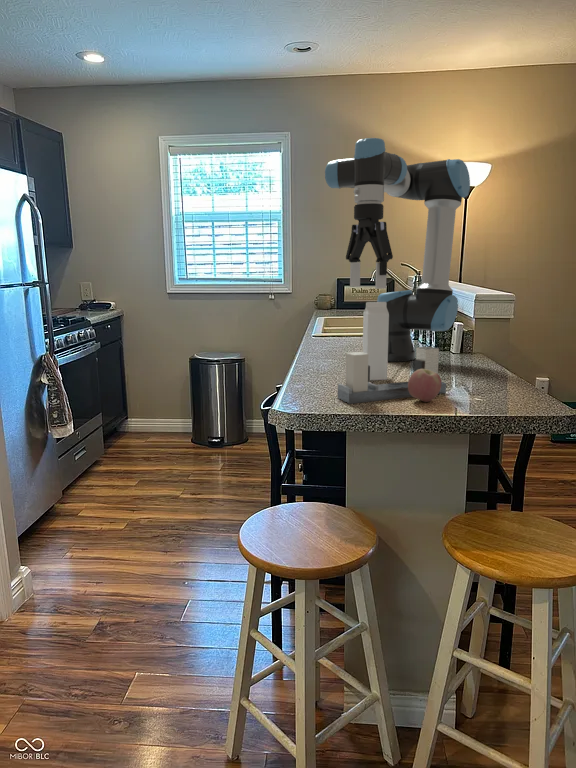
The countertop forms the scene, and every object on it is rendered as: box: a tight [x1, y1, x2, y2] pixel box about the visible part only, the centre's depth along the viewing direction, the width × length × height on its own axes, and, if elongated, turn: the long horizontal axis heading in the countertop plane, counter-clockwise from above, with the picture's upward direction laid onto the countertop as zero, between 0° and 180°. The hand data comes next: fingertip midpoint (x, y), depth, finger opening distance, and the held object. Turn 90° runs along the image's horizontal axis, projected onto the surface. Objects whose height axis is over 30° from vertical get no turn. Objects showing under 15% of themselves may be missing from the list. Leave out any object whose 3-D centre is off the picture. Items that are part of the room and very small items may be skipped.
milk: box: [362, 301, 389, 381], centre depth 163 cm, size 6×6×22 cm
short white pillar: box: [344, 351, 371, 392], centre depth 138 cm, size 5×4×9 cm
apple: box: [407, 369, 442, 403], centre depth 136 cm, size 8×8×8 cm
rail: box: [337, 346, 447, 405], centre depth 142 cm, size 28×6×12 cm, turn 112°
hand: (367, 287), depth 150 cm, fingers open, 13 cm apart
